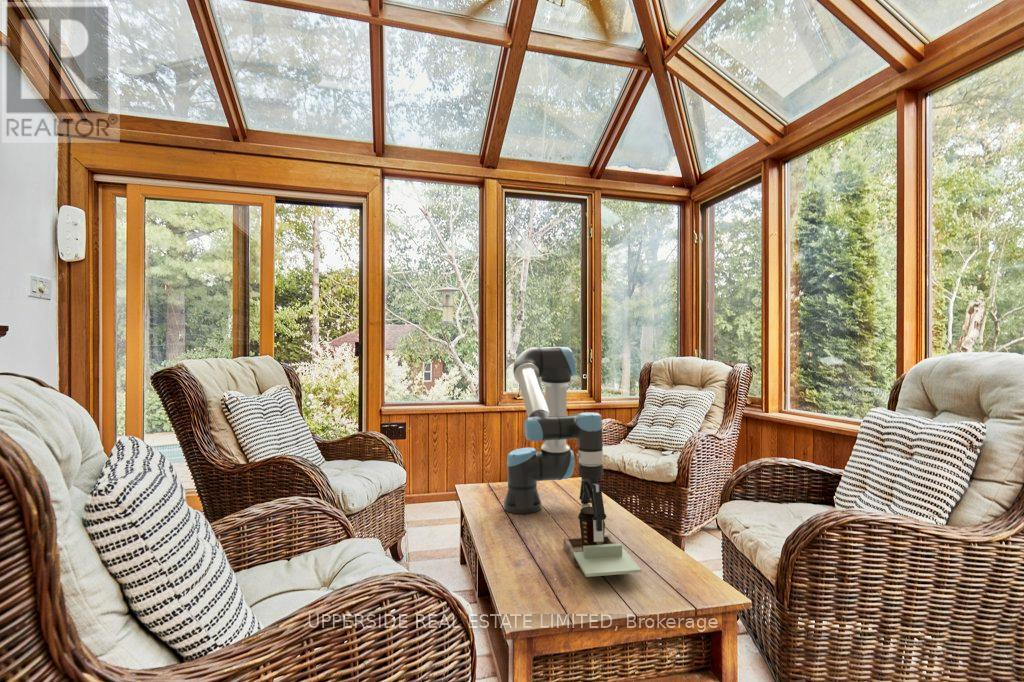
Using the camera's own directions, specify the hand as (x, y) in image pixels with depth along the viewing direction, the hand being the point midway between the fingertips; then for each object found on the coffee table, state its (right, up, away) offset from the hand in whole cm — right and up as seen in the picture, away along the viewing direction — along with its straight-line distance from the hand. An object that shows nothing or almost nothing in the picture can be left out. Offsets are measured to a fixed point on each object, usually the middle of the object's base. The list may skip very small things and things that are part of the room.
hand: (592, 532), depth 154 cm
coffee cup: (0, -6, 0) cm, 6 cm away
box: (0, -7, 0) cm, 7 cm away
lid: (+2, -3, -14) cm, 14 cm away
